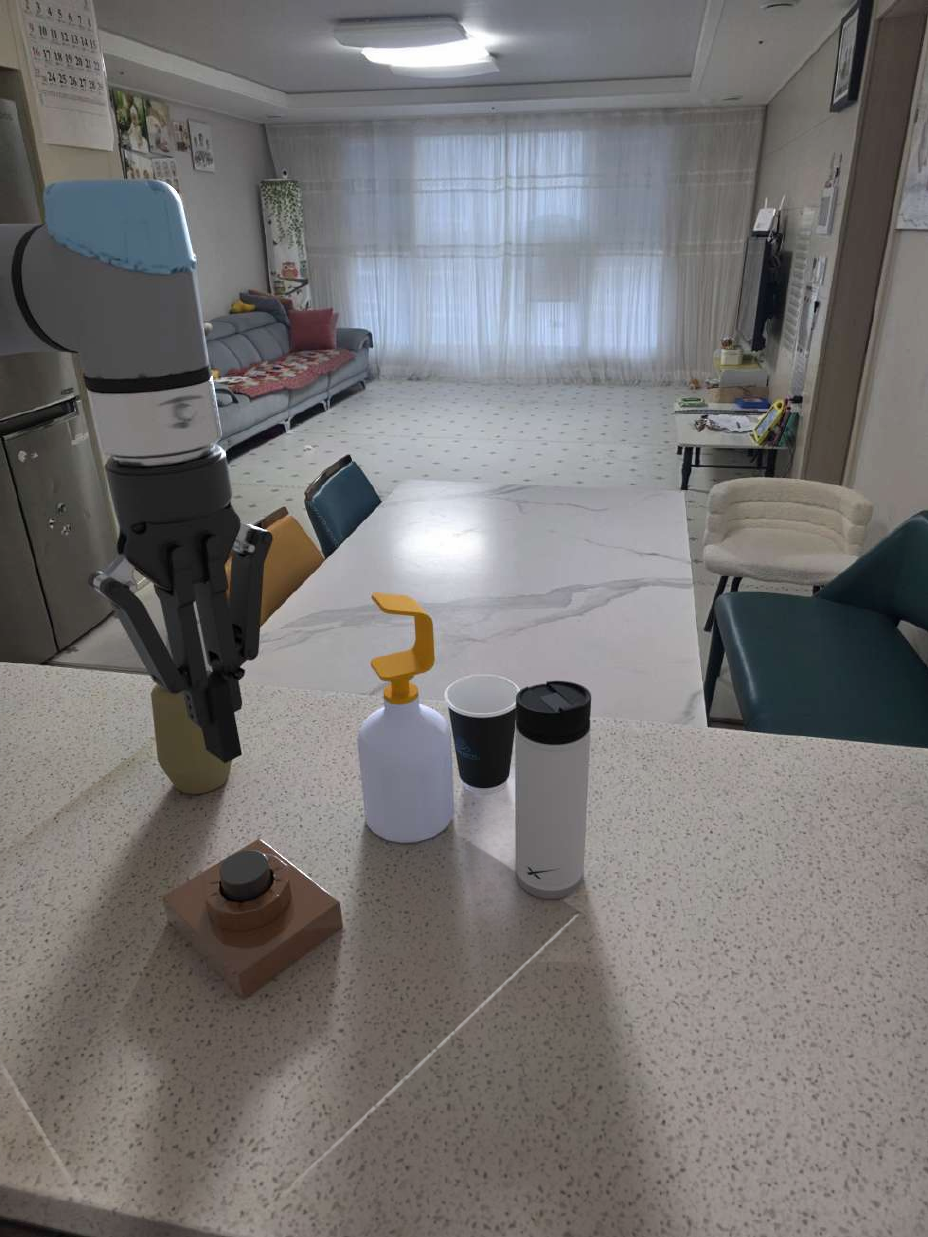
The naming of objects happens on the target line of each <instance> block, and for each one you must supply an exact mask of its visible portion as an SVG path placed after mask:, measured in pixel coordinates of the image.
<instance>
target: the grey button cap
mask: <svg viewBox="0 0 928 1237" xmlns="http://www.w3.org/2000/svg"><path fill="white" fill-rule="evenodd" d="M234 853H235V854H234ZM234 853H232V854H233V855H232V854H231V855H229V856H230V857H229V856H227V857H228V858H227V857H226V858H227V859H226V858H225V859H226V860H225V861H224V862H223V863H222V865H221V867H220V870H219V874H220V879H221V884H222V889H223V893H224V895H225V896H226V898H228V899H229V900H231V901H233V902H246V901H250V900H255V899H257V898H259V897H260V896H262V895H263V894H265V893H266V892H267V890H268V889H269V887H270V885H271V875H270V869H269V863H268V859H267V857H266V856H265V855H264V854H263V853H261V852H258V851H253V850H247V851H241V852H238V853H236V852H234Z"/></svg>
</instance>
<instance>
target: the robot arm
mask: <svg viewBox="0 0 928 1237" xmlns="http://www.w3.org/2000/svg"><path fill="white" fill-rule="evenodd" d="M42 200H43V201H42V202H43V206H44V215H45V218H44V220H43V221H44V222H43V223H0V357H5V356H10V355H15V354H23V353H25V354H26V353H68V354H78V357H79V362H80V365H81V368H82V375H83V378H82V379H83V381H84V382H83V383H84V386H85V388H86V392H87V396H88V401H89V405H90V411H91V416H92V420H93V424H94V429H95V433H96V438H97V443H98V446H99V450H100V451H101V452H103V453H104V454H105V455H108V456H109V458H108V459H107V461H106V462H105V464H104V471H105V475H106V480H107V484H108V489H109V492H110V498H111V501H112V506H113V510H114V514H115V517H116V520H117V523H118V527H119V530H118V537H117V540H116V552H117V554H118V555H117V556H116V557H115V558H114V559H113V561H112V562H111V563H110V564H109V565H108V566H107V567H106V568H105V570H104V571H103V572H102V571H100V570H99V571H98V570H96V571H94V572H91V573H90V574H89V576H88V578H87V584H88V586H89V587H90V588H91V589H92V590H93V591H95V592H96V593H97V594H99V596H101V597H102V598H104V599H105V600H106V601H108V602H109V604H110V606H111V607H112V610H113V611H114V613H115V615H116V617H117V618H118V620H119V622H120V624H121V625H122V626H121V627H123V629H124V631H125V633H126V635H127V637H128V638H129V640H130V643H131V644H132V646H133V647H134V649H135V651H136V653H137V655H138V657H139V658H140V660H141V662H142V664H143V665H144V668H145V669H146V671H147V672H148V675H149V676H150V678H151V680H152V681H153V682H154V683H155V684H158V685H160V686H161V687H163V688H164V689H166V690H167V691H169V692H170V693H173V694H177V693H179V692H181V691H183V695H184V700H185V705H186V709H187V714H188V717H189V719H190V720H191V721H192V722H193V723H195V724H196V725H198V726H199V727H201V728H202V732H203V737H204V741H205V746H206V750H207V751H209V752H210V753H211V754H213V755H214V756H216V757H217V758H218V759H220V760H221V761H223V762H224V763H227V762H229V761H231V760H232V761H233V760H234V759H236V758H238V757H241V756H242V755H243V752H242V747H241V741H240V736H239V732H238V731H239V730H238V726H237V720H236V714H235V713H236V712H239V711H240V710H242V707H243V698H242V692H241V686H240V681H241V680H242V679H243V678H244V676H245V675H246V669H245V668H242V667H241V666H242V665H244V664H245V663H246V662H247V661H250V662H251V661H253V660H256V658H258V656H259V652H260V637H261V620H262V606H263V605H262V602H263V588H264V572H265V562H266V559H267V557H268V554H269V551H270V549H271V546H272V543H273V539H274V538H273V534H272V532H271V531H269V530H266V529H263V528H261V527H258V526H255V525H253V524H250V523H247V524H244V523H242V522H241V517H240V514H238V512H237V511H236V510H235V508H234V507H233V505H232V498H233V488H232V484H231V477H230V471H229V465H228V459H227V453H226V451H225V450H224V449H223V448H222V447H221V446H219V445H218V444H217V443H218V442H219V441H220V440H221V439H222V437H223V431H222V426H221V420H220V414H219V409H218V402H217V396H216V391H215V384H214V378H213V371H212V367H211V362H210V359H209V353H208V346H207V338H206V333H205V325H204V316H203V309H202V302H201V301H202V300H201V295H200V293H201V292H200V286H199V279H198V278H199V277H198V271H197V270H198V269H197V267H198V262H197V256H196V254H195V253H194V250H193V245H192V241H191V237H190V233H189V228H188V224H187V220H186V215H185V211H184V206H183V203H182V200H181V197H180V195H179V194H178V192H177V191H176V189H175V188H174V187H172V186H171V185H170V184H168V183H167V182H165V181H162V180H159V179H150V178H149V179H147V178H104V179H103V178H96V179H95V178H92V179H74V180H71V179H70V180H63V181H55V182H52V183H49V185H47V186H46V187H45V188H44V190H43V194H42ZM232 549H233V550H232ZM231 552H232V553H231ZM230 554H231V561H230V580H229V582H230V583H229V582H228V576H227V571H226V564H227V562H228V559H229V557H230ZM134 571H136V572H138V573H139V574H140V575H141V576H143V577H144V578H145V579H146V580H148V581H149V582H150V583H152V584H153V589H154V592H155V595H156V596H157V598H158V599H159V602H160V608H161V612H162V616H163V620H164V624H165V626H164V627H165V631H166V635H168V640H169V645H170V649H171V654H172V658H171V656H170V654H169V652H168V650H167V648H166V643H164V641H163V639H162V636H161V635H160V632H159V631H158V629H157V627H156V625H155V624H154V622H153V620H152V618H151V615H150V614H149V611H148V610H147V608H146V606H145V605H144V603H143V602H142V600H141V599H140V598H139V597H138V596H137V595H136V594H135V593H137V592H138V589H139V588H138V582H137V581H136V579H135V576H134ZM228 590H229V598H228V596H227V591H228ZM228 599H229V600H228ZM194 603H195V605H196V606H195V605H194ZM195 607H196V609H195ZM196 610H197V615H198V620H199V624H198V620H197V616H196ZM198 625H200V630H201V635H202V640H201V636H200V631H199V626H198ZM202 641H203V644H202ZM202 645H203V646H204V650H205V655H206V660H207V664H208V666H209V667H211V669H207V667H206V661H205V655H204V651H203V646H202ZM172 659H173V660H172Z"/></svg>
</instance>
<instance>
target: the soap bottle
mask: <svg viewBox="0 0 928 1237" xmlns="http://www.w3.org/2000/svg"><path fill="white" fill-rule="evenodd" d="M371 600H372V601H373V602H374V603H375V604H376V606H377V607H378V609H379V610H380V611H381V612H383V613H385V614H390V615H398V616H409V617H413V620H414V637H415V640H414V644H413V646H411V648H410V649H408V650H407V649H406V650H404V651H400V652H395V653H391V654H386V655H381V656H378V657H377V656H376V657H373V658H372V659H371V660H370V666H371V668H372V670H373V671H374V673H375V674H376V676H377V677H378V678H379V680H381V681H384V682H389V684H388V685H386V686H385V687H384V689H383V691H382V692H383V696H382V697H383V706H382V707H380V708H378V709H377V710H375V711H373V713H371V714H370V715H369V716H368V717H366V719H365V720H363V722H362V723H361V726H360V730H359V732H358V735H357V738H356V742H357V743H356V744H357V753H358V754H357V755H358V761H359V772H360V781H361V790H362V800H363V810H364V811H363V812H364V817H365V822H366V825H367V826H368V827H369V829H370V830H371V831H372V833H373V834H375V835H376V836H378V837H379V838H382V839H384V840H385V841H389V842H393V843H400V844H406V843H409V844H410V843H419V842H422V841H426V840H429V839H432V838H434V837H435V836H437V835H438V834H440V833H441V832H443V831H445V829H446V828H447V827H448V825H449V824H450V823H451V821H452V819H453V816H454V811H455V801H454V800H455V798H454V796H455V795H454V776H453V773H454V772H453V751H452V732H451V730H450V728H449V725H448V723H447V721H446V719H445V717H444V716H443V715H442V714H440V713H439V712H438V711H437V710H435V709H433V708H431V707H430V706H427V705H425V704H421V703H420V695H419V689H418V686H417V685H416V684H414V683H413V682H410V681H411V680H412V679H414V677H415V676H416V675H421V674H425V673H427V672H428V671H430V670H431V669H432V668H433V667H434V664H435V660H436V658H435V640H434V638H435V636H434V623H433V618H432V617H430V615H429V614H428V613H427V612H426V611H425V610H424V609H423V607H421V606H420V605H419V603H418V602H417V601H416V600H415V599H414V598H413V597H411V596H410V595H406V594H397V593H386V592H372V594H371Z"/></svg>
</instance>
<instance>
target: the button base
mask: <svg viewBox="0 0 928 1237" xmlns="http://www.w3.org/2000/svg"><path fill="white" fill-rule="evenodd" d="M247 850H253V851H258V852H261V853H263V854H264V855H265V856H266V857H267V859H268V863H269V869H270V875H271V885H270V887H269V889H268V890H267V892H266V893H265V894H263V895H262V896H260V897H259V898H257V899H255V900H250V901H246V902H233V901H231V900H229V899H228V898H226V896H225V895H224V893H223V889H222V884H221V879H220V874H219V870H220V867H221V865H222V863H223V862H224V861H225V860H226V859H227V858H228V857H230V856H231V855H233V854H235V853H238V852H241V851H247ZM231 855H229V856H227V857H226V858H224V859H222V860H220V861H219V862H218V863H215V864H214V865H212V866H211V867H209V868H207V869H206V870H204V871H202V872H201V873H199V874H197V875H195V876H194V877H192V878H191V879H189V880H187V881H186V882H184V883H182V884H181V885H179V886H177V887H176V888H173V890H171V891H169V892H167V893H166V894H164V895H162V897H161V900H162V903H163V907H164V912H165V916H166V919H167V923H168V924H169V925H170V926H171V927H172V928H173V929H174V930H175V931H176V932H177V933H178V934H179V935H180V936H181V938H183V939H184V940H185V941H186V942H187V943H188V944H189V945H190V947H192V949H193V950H195V952H196V953H197V954H198V955H199V956H200V957H201V958H202V959H203V960H204V961H205V962H206V963H207V965H209V966H210V967H211V968H212V969H213V970H214V971H215V972H216V973H217V974H218V975H219V977H221V978H222V979H223V981H224V982H226V983H227V985H228V986H229V987H230V988H231V989H232V990H233V991H234V992H235V993H236V994H237V995H238V996H239V997H240V998H241V999H242V1000H243V1001H246V1000H247V999H248V998H249V997H251V996H252V995H254V994H255V993H256V992H257V991H259V990H260V989H262V988H263V987H265V986H266V985H267V984H268V983H270V982H271V981H273V980H274V979H275V978H277V977H278V976H279V975H281V974H282V973H283V972H285V971H286V970H287V969H289V968H290V967H291V966H293V965H294V964H295V963H297V962H298V961H300V960H301V959H302V958H304V957H305V956H307V954H309V953H310V952H312V951H313V950H314V949H316V948H317V947H318V946H320V945H321V944H323V943H324V942H325V941H326V940H328V939H329V938H331V937H332V936H333V935H335V934H336V933H338V932H339V931H340V930H342V929H343V927H344V925H343V917H342V909H341V902H340V901H339V900H338V899H337V898H336V897H334V896H333V895H332V894H331V893H329V892H328V891H327V890H326V889H324V887H322V886H321V885H319V884H318V883H317V882H315V881H314V880H313V879H312V878H311V877H309V876H308V875H306V874H305V873H304V872H303V871H302V870H300V869H299V868H298V867H297V866H295V865H294V864H293V863H292V862H291V861H289V860H288V859H286V857H284V856H283V855H281V854H280V853H279V852H278V851H276V849H274V848H272V847H271V846H270V845H269V844H268V843H267V842H265V841H264V840H263V839H262V838H257V839H256V840H254V841H252V842H250V843H249V844H247V845H245V846H244V847H242V848H240V849H239V850H237V851H236V852H234V853H232V854H231Z"/></svg>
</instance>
